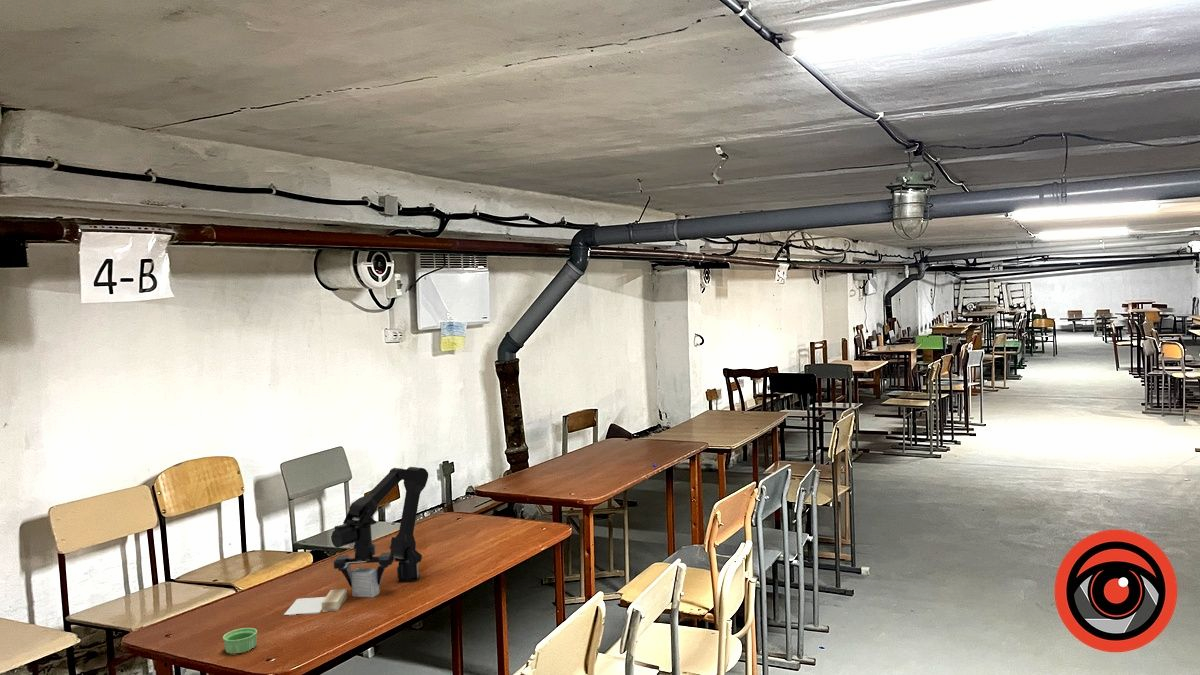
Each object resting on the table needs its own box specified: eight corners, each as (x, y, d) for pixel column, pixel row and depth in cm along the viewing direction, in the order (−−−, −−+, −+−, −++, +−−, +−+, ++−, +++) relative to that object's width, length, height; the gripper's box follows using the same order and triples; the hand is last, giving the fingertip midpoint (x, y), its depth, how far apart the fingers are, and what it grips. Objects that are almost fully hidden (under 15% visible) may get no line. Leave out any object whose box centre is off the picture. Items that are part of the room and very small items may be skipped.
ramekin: (216, 653, 226) (215, 638, 226) (241, 641, 235) (240, 626, 235) (241, 657, 223) (240, 641, 223) (265, 644, 232) (264, 629, 232)
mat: (331, 597, 268) (330, 596, 268) (319, 613, 254) (319, 612, 254) (297, 600, 267) (297, 598, 267) (283, 615, 253) (283, 614, 253)
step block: (347, 597, 268) (346, 588, 267) (338, 610, 256) (337, 601, 255) (331, 598, 267) (331, 589, 267) (322, 612, 255) (321, 602, 255)
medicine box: (380, 593, 270) (378, 568, 269) (372, 598, 266) (370, 572, 265) (360, 592, 272) (358, 566, 272) (351, 596, 268) (350, 571, 268)
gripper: (395, 531, 277) (397, 576, 278) (340, 534, 276) (342, 579, 276) (389, 540, 266) (392, 586, 266) (332, 544, 265) (334, 590, 265)
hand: (365, 585), depth 269 cm, fingers closed on medicine box, 9 cm apart
